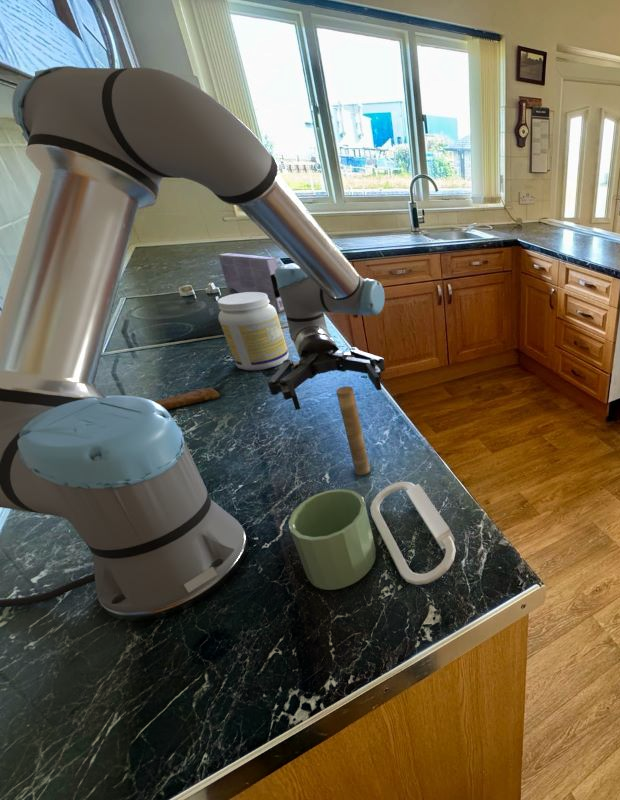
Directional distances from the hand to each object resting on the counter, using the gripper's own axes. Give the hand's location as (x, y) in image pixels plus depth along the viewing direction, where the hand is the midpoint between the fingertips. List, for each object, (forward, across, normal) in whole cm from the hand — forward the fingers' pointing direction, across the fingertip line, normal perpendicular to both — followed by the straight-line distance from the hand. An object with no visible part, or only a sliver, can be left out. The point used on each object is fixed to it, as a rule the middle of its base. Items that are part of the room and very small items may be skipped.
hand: (339, 392), depth 74 cm
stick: (+9, 0, -11) cm, 14 cm away
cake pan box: (-98, +8, -12) cm, 99 cm away
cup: (+27, +7, -11) cm, 30 cm away
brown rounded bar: (-33, +30, -11) cm, 46 cm away
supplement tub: (-49, +11, -12) cm, 52 cm away
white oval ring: (+27, -3, -11) cm, 29 cm away
